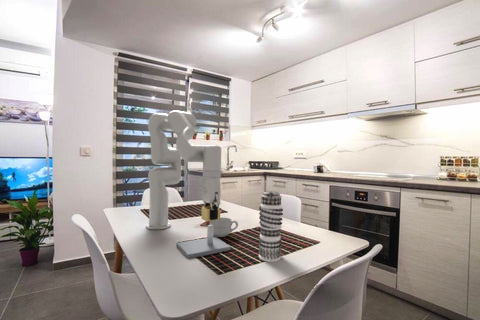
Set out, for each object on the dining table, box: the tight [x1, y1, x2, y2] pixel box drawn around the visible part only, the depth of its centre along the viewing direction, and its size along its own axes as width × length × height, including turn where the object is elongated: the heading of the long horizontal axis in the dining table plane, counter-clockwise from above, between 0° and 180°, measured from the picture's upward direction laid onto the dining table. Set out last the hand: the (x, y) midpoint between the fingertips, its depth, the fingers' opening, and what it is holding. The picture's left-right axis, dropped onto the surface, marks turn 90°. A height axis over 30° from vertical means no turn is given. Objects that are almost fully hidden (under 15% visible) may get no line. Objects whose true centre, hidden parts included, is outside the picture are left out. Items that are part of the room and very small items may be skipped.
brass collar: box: [200, 205, 221, 223], centre depth 102 cm, size 6×6×5 cm
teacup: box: [209, 216, 239, 238], centre depth 117 cm, size 14×11×8 cm
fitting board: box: [176, 224, 231, 259], centre depth 100 cm, size 14×18×9 cm
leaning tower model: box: [258, 190, 284, 263], centre depth 93 cm, size 9×9×25 cm
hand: (210, 217), depth 102 cm, fingers closed on brass collar, 5 cm apart
